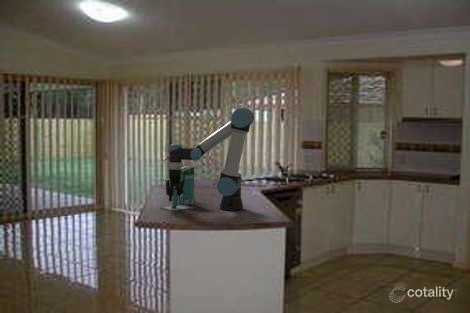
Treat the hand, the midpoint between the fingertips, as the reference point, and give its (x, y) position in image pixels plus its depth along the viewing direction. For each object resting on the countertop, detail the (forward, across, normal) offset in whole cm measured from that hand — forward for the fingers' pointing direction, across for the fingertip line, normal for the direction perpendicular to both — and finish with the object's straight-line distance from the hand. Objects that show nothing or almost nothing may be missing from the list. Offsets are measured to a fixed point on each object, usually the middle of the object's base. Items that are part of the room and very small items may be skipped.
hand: (174, 206), depth 319 cm
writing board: (+2, -3, 0) cm, 3 cm away
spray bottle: (+2, -28, -40) cm, 48 cm away
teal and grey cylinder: (+1, 0, -1) cm, 1 cm away
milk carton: (+2, -17, -13) cm, 21 cm away
